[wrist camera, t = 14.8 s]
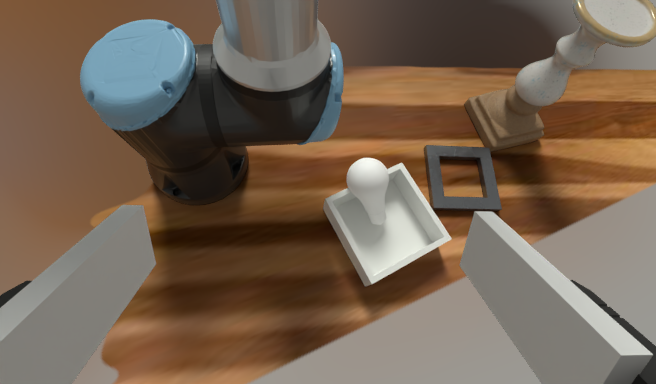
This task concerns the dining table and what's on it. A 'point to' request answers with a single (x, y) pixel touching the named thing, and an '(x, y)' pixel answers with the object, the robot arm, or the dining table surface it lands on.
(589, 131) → the dining table surface
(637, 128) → the dining table surface
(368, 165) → the lightbulb
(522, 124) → the candle holder
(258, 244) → the dining table surface
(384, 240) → the bin
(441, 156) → the dark grey square frame
